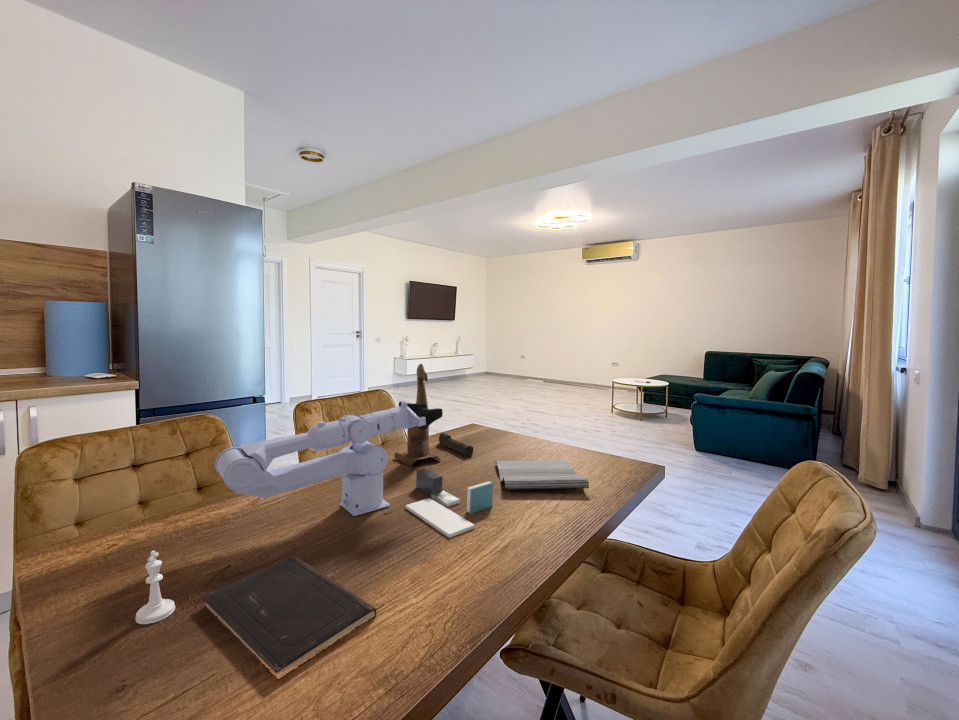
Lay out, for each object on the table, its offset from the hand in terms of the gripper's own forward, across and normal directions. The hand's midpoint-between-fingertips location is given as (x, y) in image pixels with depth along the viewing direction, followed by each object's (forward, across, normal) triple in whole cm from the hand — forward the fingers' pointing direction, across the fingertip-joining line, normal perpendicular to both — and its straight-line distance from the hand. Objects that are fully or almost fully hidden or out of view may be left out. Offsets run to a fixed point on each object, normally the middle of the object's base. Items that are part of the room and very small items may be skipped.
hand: (433, 409), depth 117 cm
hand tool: (+23, +24, +24) cm, 41 cm away
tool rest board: (-11, -16, +21) cm, 28 cm away
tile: (0, -18, +22) cm, 28 cm away
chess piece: (-64, -16, +16) cm, 68 cm away
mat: (+27, -13, +25) cm, 39 cm away
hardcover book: (-48, -28, +18) cm, 58 cm away
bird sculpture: (+7, +22, +23) cm, 32 cm away
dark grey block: (-4, -5, +21) cm, 22 cm away
